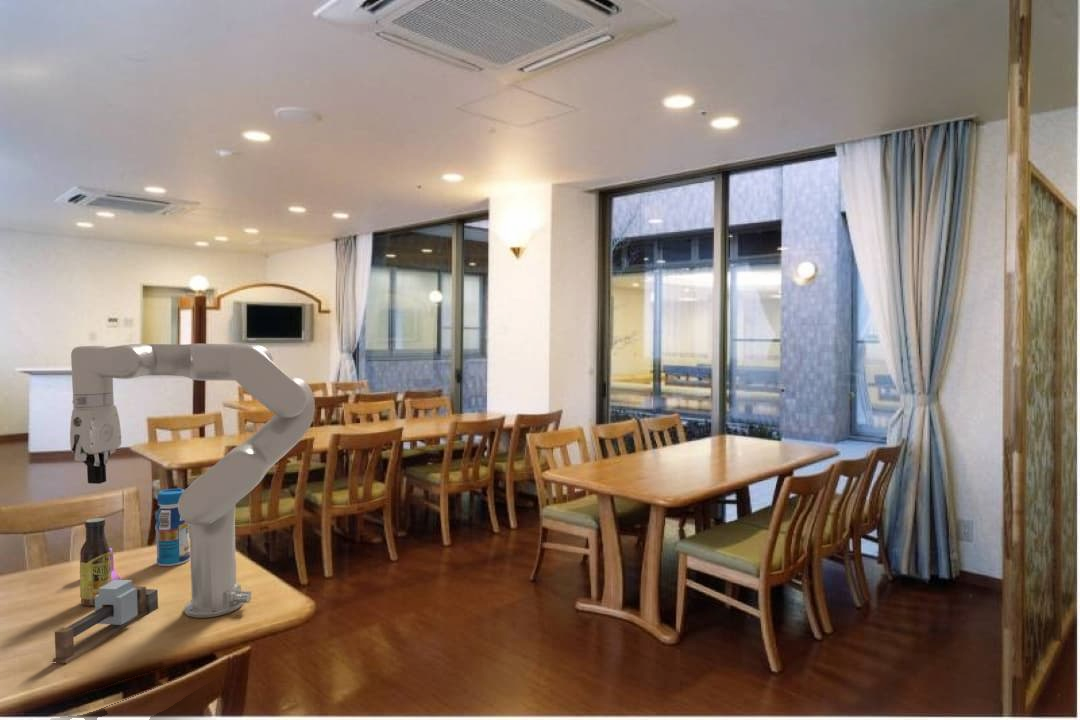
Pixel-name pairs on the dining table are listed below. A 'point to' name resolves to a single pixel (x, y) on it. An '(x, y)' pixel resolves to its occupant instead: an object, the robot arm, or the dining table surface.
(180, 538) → the beverage bottle
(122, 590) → the notched grey cube
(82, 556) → the sauce bottle
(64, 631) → the stand
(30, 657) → the dining table surface
